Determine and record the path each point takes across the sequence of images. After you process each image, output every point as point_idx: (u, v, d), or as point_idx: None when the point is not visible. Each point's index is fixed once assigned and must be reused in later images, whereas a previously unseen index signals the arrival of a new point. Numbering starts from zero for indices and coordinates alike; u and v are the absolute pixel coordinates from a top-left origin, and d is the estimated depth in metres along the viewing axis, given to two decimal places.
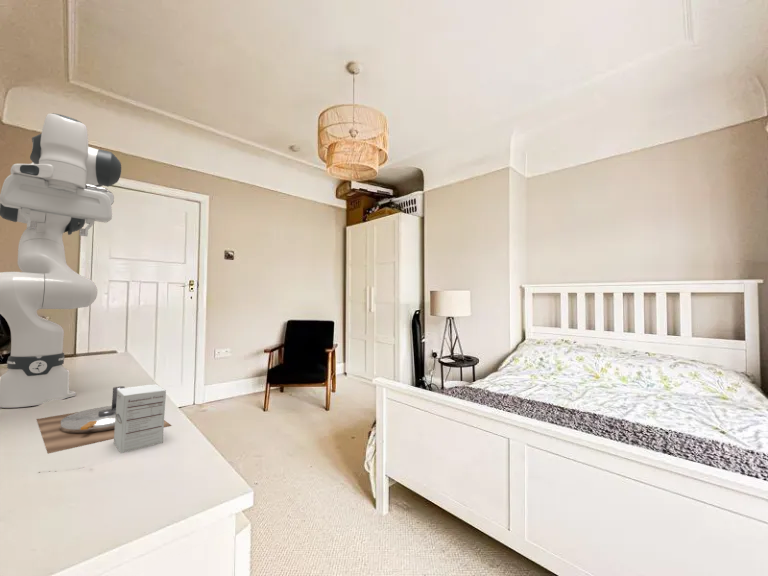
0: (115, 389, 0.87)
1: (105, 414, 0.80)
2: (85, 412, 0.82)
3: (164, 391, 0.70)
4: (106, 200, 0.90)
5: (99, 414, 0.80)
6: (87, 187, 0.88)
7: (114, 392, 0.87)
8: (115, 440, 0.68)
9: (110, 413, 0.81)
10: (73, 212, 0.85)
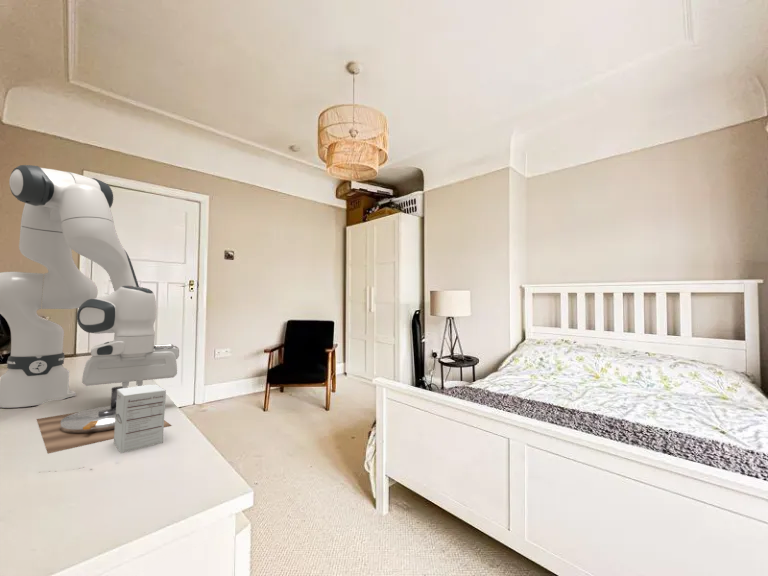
0: (114, 389, 0.87)
1: (105, 414, 0.80)
2: (84, 412, 0.82)
3: (164, 391, 0.70)
4: (171, 358, 0.93)
5: (99, 414, 0.80)
6: (155, 348, 0.92)
7: (113, 392, 0.86)
8: (115, 440, 0.68)
9: (110, 413, 0.81)
10: (143, 377, 0.89)
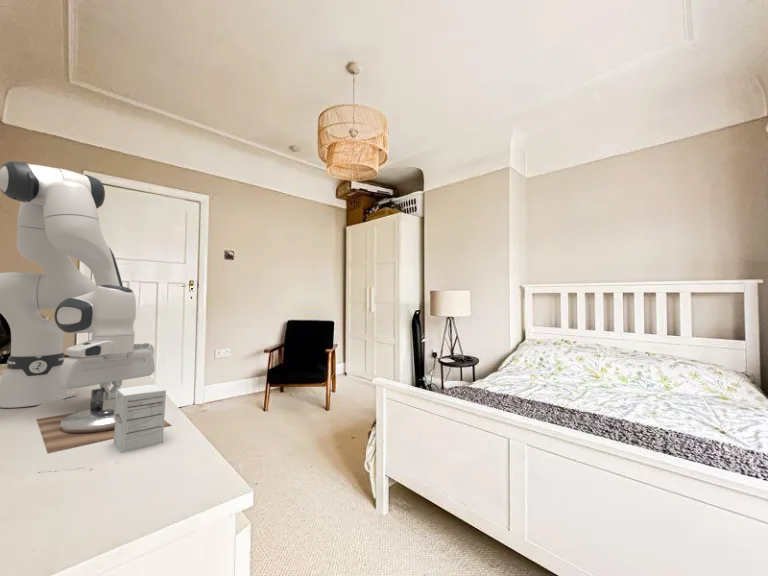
0: (97, 391, 0.84)
1: (110, 413, 0.81)
2: (73, 417, 0.79)
3: (164, 391, 0.70)
4: (150, 356, 0.95)
5: (103, 414, 0.80)
6: (133, 347, 0.92)
7: (96, 394, 0.84)
8: (115, 440, 0.68)
9: (113, 412, 0.82)
10: (125, 377, 0.89)
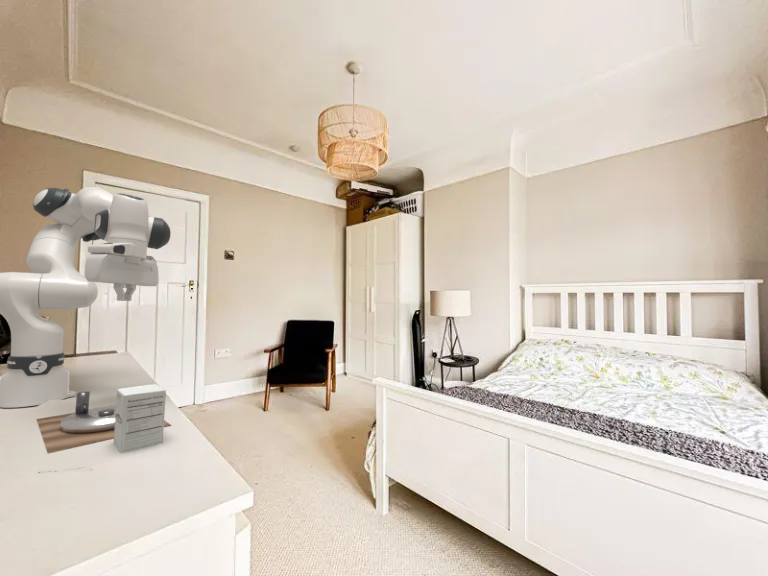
0: (86, 394, 0.82)
1: (113, 412, 0.82)
2: (72, 421, 0.76)
3: (164, 391, 0.70)
4: (156, 268, 1.01)
5: (107, 414, 0.80)
6: None
7: (85, 397, 0.82)
8: (115, 440, 0.68)
9: (114, 411, 0.82)
10: (138, 282, 0.95)
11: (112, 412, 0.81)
